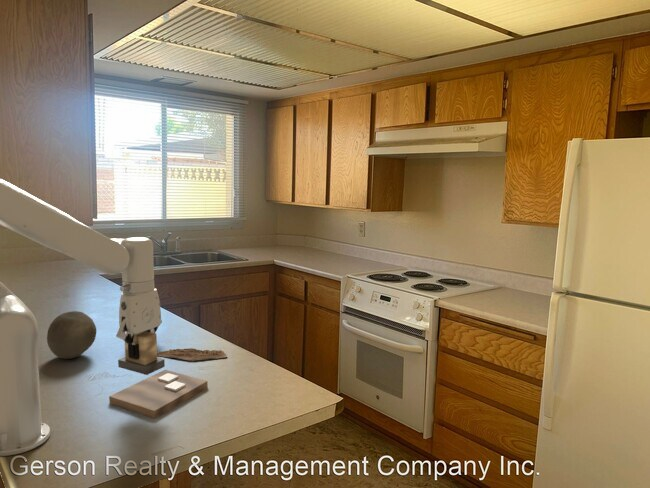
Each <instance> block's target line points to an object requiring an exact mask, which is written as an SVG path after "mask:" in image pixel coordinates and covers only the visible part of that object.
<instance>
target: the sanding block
mask: <svg viewBox="0 0 650 488" xmlns="http://www.w3.org/2000/svg"><path fill="white" fill-rule="evenodd" d="M125 335H126V332H125ZM131 338H132V334H131ZM157 338H158V337H157V332H155V333H151V332H147V331H145V332H142V333H139V334H138V337H137V344H139V359H137V360H136V359H132V358H129V356H128V344H127V343H126V342H125V341H124V355H125V356H124V357H122V358H119V359H118V360H117V363H118V364H117V365H118V368H121V369H123V370H127V371H130V372H135V373H138V374H140V375H141V374H142V375H145V376H149V375H150V374H152V373H154V372H156V371H159V370H161V369H162V368H165V367H166V365H165V359H164V358H161V357H158V356H157V353H158V347H157V346H158V344H157Z"/></svg>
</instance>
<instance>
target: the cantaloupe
mask: <svg viewBox="0 0 650 488" xmlns="http://www.w3.org/2000/svg"><path fill="white" fill-rule="evenodd" d="M48 326H49V327H48V329H47V333H46V334H47V335H46V343H47V346H48V348H49V350H50V352H51V353H52V354H53V355H55V356H56V358H59V359H62V360H70V359H75V358H77V357H79V356H81V355H82V354H84V353H85V352H86V351H88V350H89V349H90V348H91V346H92V345H93V344H94V342H95V341H96V338H97V326H96V324H95V322H94V320H93V319H92V318H91V317H90V316H89V315H88V314H86V313H84V312H82V311H77V310H73V311H67V312H64V313H62V314H61V313H60V314H59V315H58V316H57V317H55V318H54V319H53V320H52V321H51V322H50V324H49V325H48Z"/></svg>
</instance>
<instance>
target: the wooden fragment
mask: <svg viewBox="0 0 650 488" xmlns="http://www.w3.org/2000/svg"><path fill="white" fill-rule="evenodd" d="M157 357H163V358H172V359H178V360H185V361H190V362H195V361H204V360H214V359H222V358H228V356H227V354H226V353H225V351H223V350H221V349H220V350H215V349H214V350H209V349H206V350H205V349H204V350H202V349H197V348H192V347H190V348H176V349H175V348H174V349H169V350H164V351H160V352H158V351H157Z"/></svg>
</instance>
